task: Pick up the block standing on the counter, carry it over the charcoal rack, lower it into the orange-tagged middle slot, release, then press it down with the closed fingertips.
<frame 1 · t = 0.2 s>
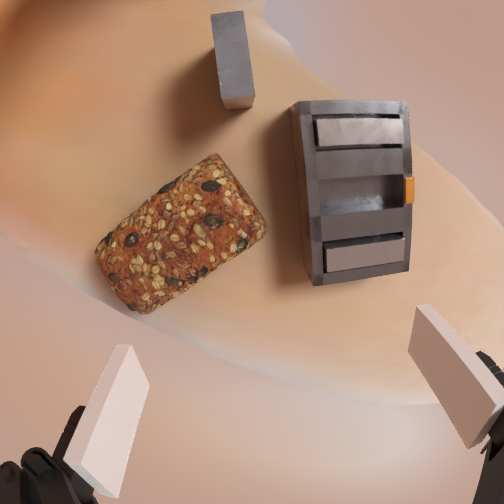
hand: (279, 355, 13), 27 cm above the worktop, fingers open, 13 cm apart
rack: (346, 185, 37), on the worktop
bread: (184, 223, 39), on the worktop
block: (234, 74, 32), on the worktop
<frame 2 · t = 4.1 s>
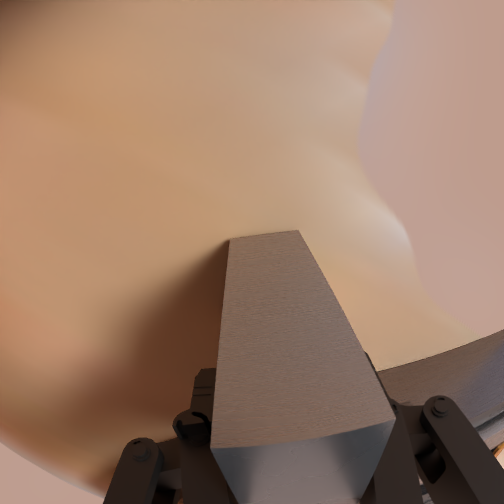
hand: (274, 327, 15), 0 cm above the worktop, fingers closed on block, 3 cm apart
rack: (421, 432, 20), on the worktop
block: (274, 319, 15), on the worktop, touching gripper
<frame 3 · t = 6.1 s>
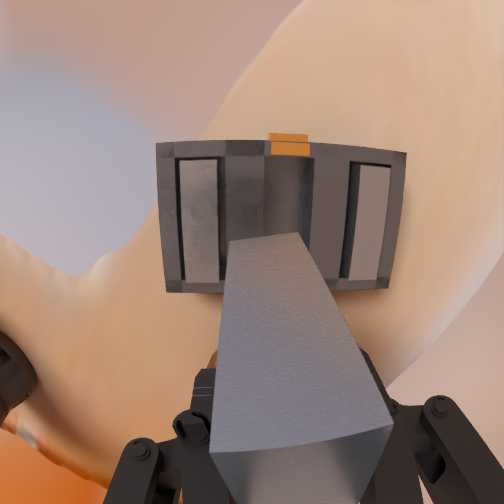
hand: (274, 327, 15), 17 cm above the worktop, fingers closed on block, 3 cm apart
rack: (278, 205, 30), on the worktop
block: (273, 321, 15), point 17 cm above the worktop, touching gripper
when the fingers open (7 cm above the worktop, at t = 8.4 s): block drops 4 cm, resting on rack.
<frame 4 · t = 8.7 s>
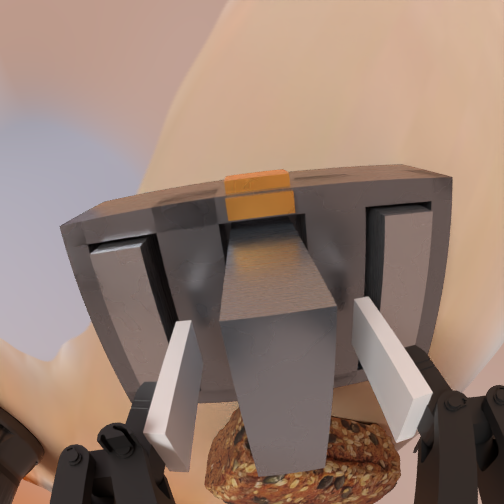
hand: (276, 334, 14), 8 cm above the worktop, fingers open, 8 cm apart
rack: (265, 269, 21), on the worktop
bread: (298, 434, 29), on the worktop
block: (267, 287, 18), point 3 cm above the worktop, touching rack
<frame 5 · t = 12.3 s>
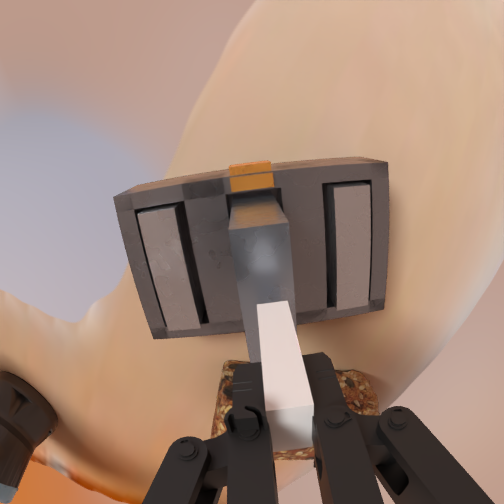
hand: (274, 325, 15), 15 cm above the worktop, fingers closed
rack: (257, 234, 29), on the worktop
bread: (286, 389, 37), on the worktop
block: (258, 244, 26), point 3 cm above the worktop, touching rack
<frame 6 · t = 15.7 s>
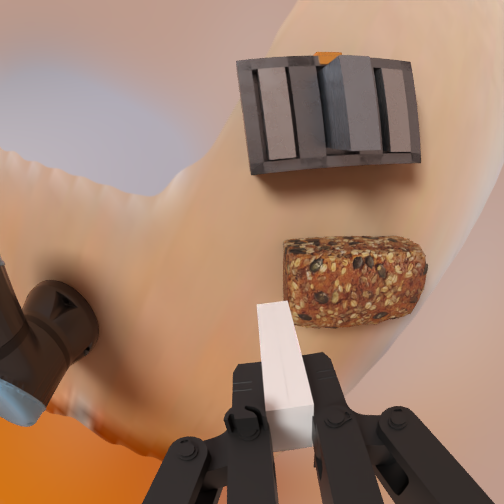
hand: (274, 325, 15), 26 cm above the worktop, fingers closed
rack: (324, 113, 35), on the worktop
bread: (341, 266, 43), on the worktop
block: (330, 110, 32), point 3 cm above the worktop, touching rack
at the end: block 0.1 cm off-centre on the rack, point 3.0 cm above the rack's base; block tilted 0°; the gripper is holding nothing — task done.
